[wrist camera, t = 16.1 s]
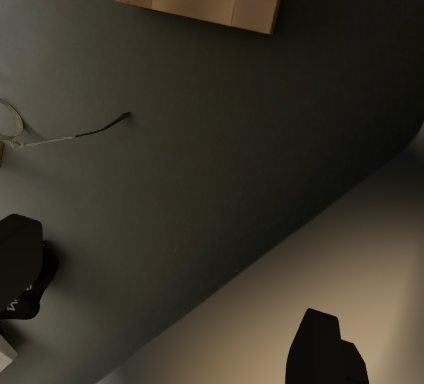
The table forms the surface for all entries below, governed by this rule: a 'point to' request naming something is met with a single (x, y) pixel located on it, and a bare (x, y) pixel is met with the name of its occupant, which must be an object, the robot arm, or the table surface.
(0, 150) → the candy box
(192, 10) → the frame
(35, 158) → the table surface
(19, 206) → the table surface
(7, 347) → the board
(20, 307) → the crumpled patterned cloth
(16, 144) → the eyeglasses
